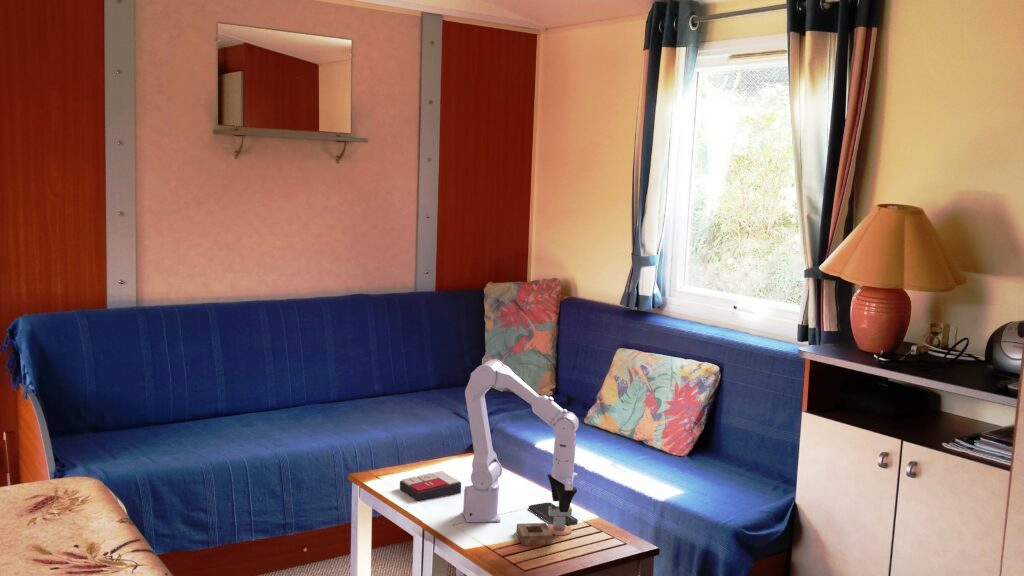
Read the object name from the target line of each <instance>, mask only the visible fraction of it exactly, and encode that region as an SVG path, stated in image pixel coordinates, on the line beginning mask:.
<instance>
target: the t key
mask: <svg viewBox="0 0 1024 576" xmlns="http://www.w3.org/2000/svg"><path fill="white" fill-rule="evenodd" d="M572 511H573V509H572V507H571V506H570V507H569V510H568V512H560V510H559V505H555V506H549V510H548V514H549V516H554V521H553V528H554V529H555V531H565V518H566V516H572V514H573V513H572Z"/></svg>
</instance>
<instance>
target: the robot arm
mask: <svg viewBox="0 0 1024 576" xmlns="http://www.w3.org/2000/svg"><path fill="white" fill-rule="evenodd" d="M493 385H495V388H496V389H509V390H510V391H511V392H512V393H514V394H515V395H517V396H518V397H519V398H521V399H523V401H526V403H527V404H529V405H530V406H531V409H532V412H533V414H535V415H536V416H537V417H539V418H540V419H541V420H542V421H543V422H545V424H547V425H548V426H549V427H552V430H553V433H554V435H555V436H554V442H553V457H552V470H551V473H549V474H547V475H546V476H547V479H548V481H549V484H550V488H551V489H550V490H551V497H552V501H553V502H558V506H559V510H560V512H568V510H569V507H571V503H572V500H573V498H574V496H575V495H576V493H578V492H577V491H578V488H577V487H575V486H574V482H573V481H574V478H577V477H578V473H577V472H574V471H575V469H574V467H575V456H576V439H577V432H576V431H577V430H578V429H579V425H580V421H579V420H580V419H579V418H578V417H577V415H576V414H575V413H574V412H572V411H568V410H567V409H566V408H564V409H563V408H562V407H561V406H560V405H559V404H557V403H556V402H555V401H554V400H555V399H554V398H553V397H552V396H547V395H546V394H544V395H539V394H538V393H537V392H536V391H535V390H534V389H533V388H531V386H529V385H528V383H526V382H525V381H523V380H522V379H521V377H519V376H518V375H517V374H516V373H514V371H513V370H512V369H511V368H510V367H509V366H508V365H506V364H504V363H503V362H502V361H501V360H499V359H497V358H492V359H488V360H486V361H485V362H484V363H483V364H482V365H479V366H477V367H476V368H475V369H474V370H473V371H472V372H471V373H470V377H469V380H468V382H467V385H466V387H465V390H464V397H465V402H466V409H467V415H468V423H469V428H470V435H471V441H472V450H473V454H474V455H473V459H472V462H471V463H472V464H471V467H472V470H471V471H472V472H471V474H470V481H471V485H468V486H467V485H466V486H465V487H464V492H463V508H462V513H463V515H464V519H465V521H466V523H491V522H493V523H494V522H495V523H498V522H501V518H500V516H499V513H498V504H499V490H500V484H499V481H498V480H499V478H500V477H501V475H502V473H503V468H502V464H501V463H500V461H499V459H498V456H497V453H496V452H495V451H494V447H493V443H492V436H491V431H490V429H491V428H490V423H489V417H488V410H487V402H486V398H485V397H486V393H487V392H488V391H489V390H490V389H491V388H492V386H493Z"/></svg>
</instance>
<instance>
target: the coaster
mask: <svg viewBox="0 0 1024 576" xmlns="http://www.w3.org/2000/svg"><path fill="white" fill-rule="evenodd" d="M567 525H568V524H566V525H565V531H555V529H554V528H553V524H550V523H548V524H547V526H548V528H549V529H550V531H551V533H552V535H553V536H568V535H569V534H571V533H572V531H573V530H572V527H571V526H570V525H568V526H567Z"/></svg>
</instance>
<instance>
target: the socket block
mask: <svg viewBox="0 0 1024 576" xmlns="http://www.w3.org/2000/svg"><path fill="white" fill-rule="evenodd" d="M547 525H548V524H547V523H546V522H540V523H539V522H538V523H535V522H534V523H532V522H531V523H528V522H527V523H526V522H525V523H516V535H517V534H518V535H517V536H519V537H518V539H519V541H520V543H521V545H522V546H534V545H533V544H539V545H538V546H542V545H545V546H546V545H547V546H548V545H550V546H551V545H553V540H554V539H553V538H554V534H552V533H551V531H550V529H549V528H548V526H547Z"/></svg>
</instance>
